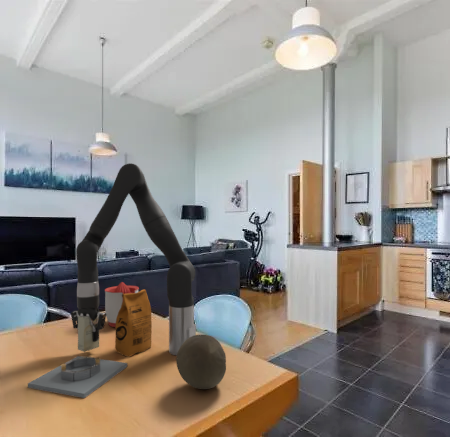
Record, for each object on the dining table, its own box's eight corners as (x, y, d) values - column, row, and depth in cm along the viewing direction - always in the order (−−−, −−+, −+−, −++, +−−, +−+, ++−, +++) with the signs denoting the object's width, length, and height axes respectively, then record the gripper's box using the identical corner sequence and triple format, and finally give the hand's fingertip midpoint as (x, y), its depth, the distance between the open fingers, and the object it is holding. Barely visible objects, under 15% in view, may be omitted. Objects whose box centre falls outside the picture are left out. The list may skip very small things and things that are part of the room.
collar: (106, 367, 103) (106, 356, 103) (82, 383, 92) (82, 371, 92) (79, 362, 106) (79, 353, 106) (52, 378, 95) (52, 367, 95)
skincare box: (84, 352, 112) (84, 318, 112) (77, 349, 115) (77, 316, 115) (100, 346, 117) (100, 313, 118) (92, 344, 120) (92, 312, 120)
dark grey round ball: (201, 372, 102) (201, 325, 102) (236, 386, 93) (235, 334, 93) (167, 390, 91) (167, 337, 91) (202, 408, 82) (202, 349, 82)
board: (127, 366, 106) (127, 362, 106) (84, 398, 87) (84, 393, 87) (78, 359, 111) (78, 355, 111) (27, 387, 92) (27, 383, 92)
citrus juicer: (114, 333, 138) (114, 287, 139) (99, 323, 151) (99, 282, 152) (146, 325, 149) (146, 282, 149) (130, 317, 162) (130, 278, 162)
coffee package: (111, 351, 118) (111, 292, 118) (139, 342, 128) (139, 287, 128) (127, 358, 112) (127, 296, 112) (155, 347, 122) (155, 290, 122)
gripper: (111, 292, 118) (111, 338, 118) (79, 291, 122) (79, 335, 122) (97, 297, 111) (98, 346, 110) (64, 295, 115) (64, 342, 114)
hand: (88, 340), depth 116 cm, fingers closed on skincare box, 5 cm apart
